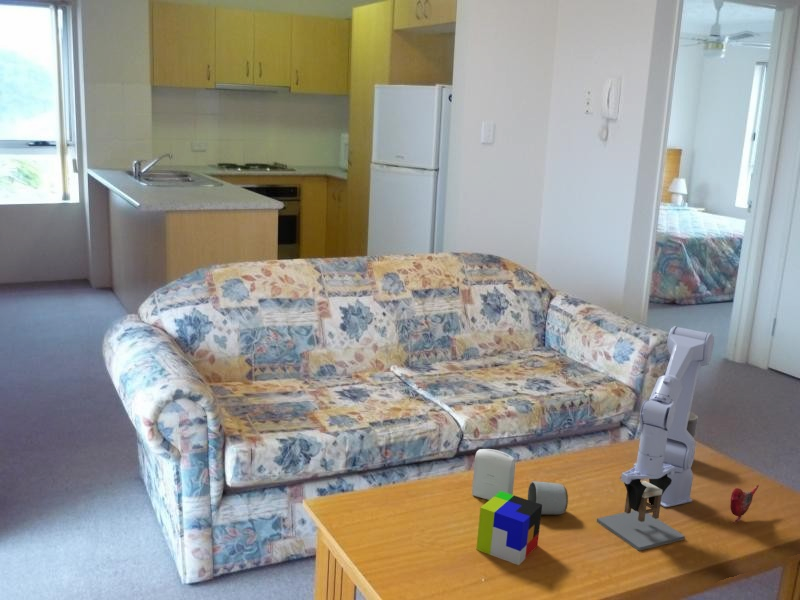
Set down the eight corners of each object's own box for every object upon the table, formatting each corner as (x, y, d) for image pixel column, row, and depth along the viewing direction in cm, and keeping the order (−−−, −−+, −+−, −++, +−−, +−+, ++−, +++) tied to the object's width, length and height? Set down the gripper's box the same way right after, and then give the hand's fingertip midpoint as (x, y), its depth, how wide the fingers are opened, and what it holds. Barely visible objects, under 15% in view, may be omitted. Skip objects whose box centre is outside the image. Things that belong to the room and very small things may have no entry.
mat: (640, 511, 202) (641, 508, 202) (684, 539, 190) (685, 536, 190) (596, 521, 195) (596, 518, 195) (638, 550, 183) (639, 547, 183)
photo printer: (468, 495, 204) (473, 449, 201) (475, 489, 208) (479, 443, 205) (508, 507, 199) (513, 459, 197) (514, 500, 203) (519, 453, 200)
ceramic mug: (567, 520, 195) (571, 489, 193) (533, 519, 194) (537, 489, 192) (554, 499, 205) (557, 470, 204) (522, 499, 204) (525, 470, 203)
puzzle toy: (518, 565, 174) (523, 522, 172) (476, 549, 179) (480, 507, 177) (537, 546, 183) (542, 504, 180) (496, 531, 188) (500, 491, 185)
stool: (641, 508, 195) (645, 480, 194) (658, 518, 191) (662, 489, 189) (624, 511, 193) (628, 483, 191) (641, 521, 188) (645, 493, 187)
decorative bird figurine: (720, 528, 196) (727, 489, 194) (748, 505, 209) (755, 468, 207) (732, 533, 194) (739, 493, 192) (760, 509, 207) (767, 472, 205)
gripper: (662, 441, 195) (654, 494, 198) (615, 449, 188) (607, 504, 191) (684, 452, 189) (676, 507, 192) (637, 461, 182) (628, 518, 185)
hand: (643, 506), depth 191 cm, fingers closed on stool, 5 cm apart
